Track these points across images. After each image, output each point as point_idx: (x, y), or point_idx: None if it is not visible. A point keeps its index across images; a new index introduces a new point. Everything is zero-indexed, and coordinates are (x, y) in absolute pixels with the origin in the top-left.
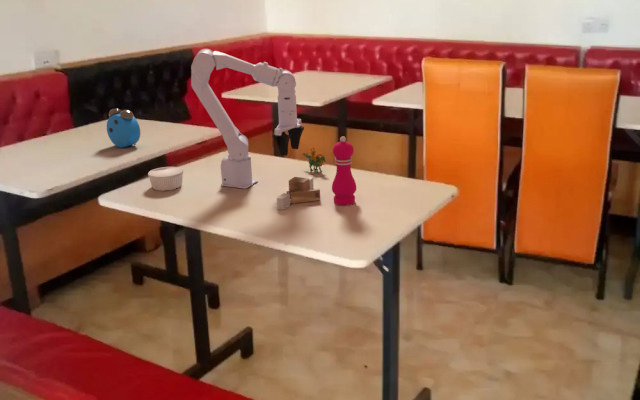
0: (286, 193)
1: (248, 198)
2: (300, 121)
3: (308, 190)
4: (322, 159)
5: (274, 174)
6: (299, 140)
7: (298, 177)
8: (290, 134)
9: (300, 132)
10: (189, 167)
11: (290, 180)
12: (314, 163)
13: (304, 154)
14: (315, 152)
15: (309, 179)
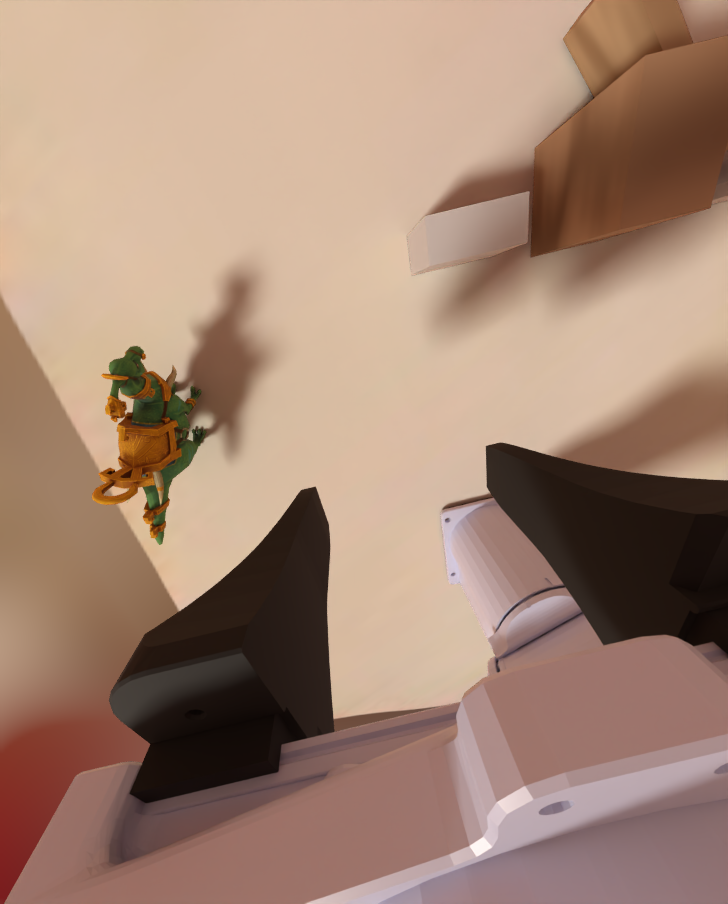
0: (726, 181)
1: (612, 415)
2: (46, 899)
3: (671, 43)
4: (141, 370)
5: (340, 520)
6: (282, 527)
7: (630, 186)
8: (323, 644)
9: (267, 589)
10: (418, 697)
11: (705, 196)
12: (183, 423)
13: (159, 525)
14: (111, 469)
15: (463, 216)
